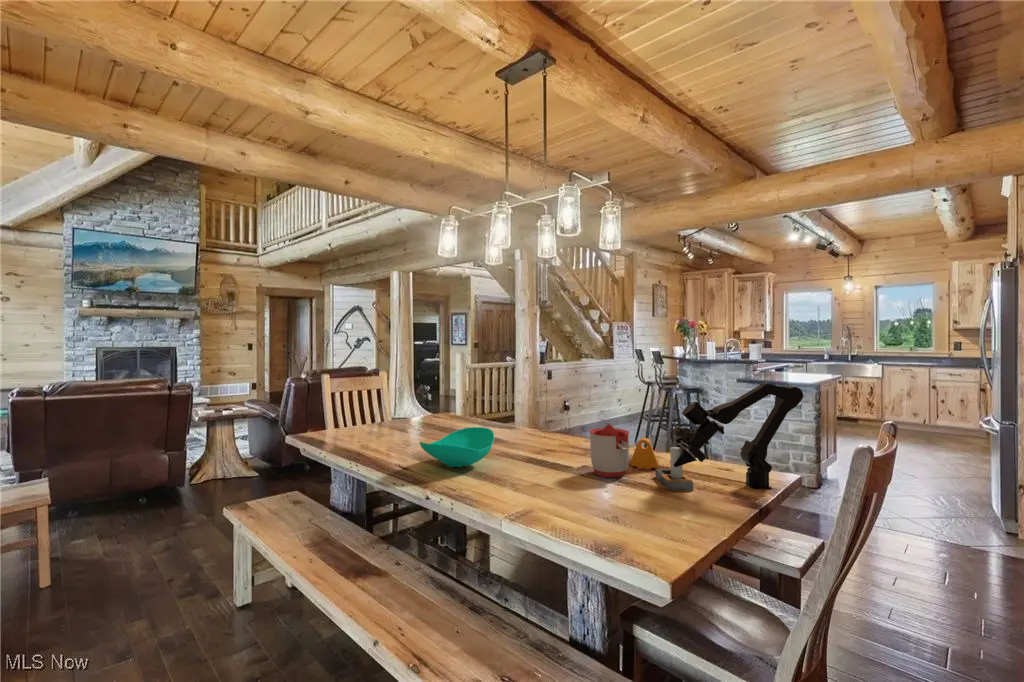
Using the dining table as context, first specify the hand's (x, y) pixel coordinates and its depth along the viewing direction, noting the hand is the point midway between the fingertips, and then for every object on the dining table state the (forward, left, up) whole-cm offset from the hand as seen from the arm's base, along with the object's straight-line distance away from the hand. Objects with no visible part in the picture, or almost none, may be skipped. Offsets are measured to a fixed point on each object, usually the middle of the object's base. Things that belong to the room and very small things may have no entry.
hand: (672, 464), depth 171 cm
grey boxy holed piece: (-1, -4, -8) cm, 9 cm away
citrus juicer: (+20, -15, -8) cm, 26 cm away
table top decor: (+83, -28, -8) cm, 88 cm away
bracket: (+4, -27, -8) cm, 28 cm away
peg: (-1, 0, -7) cm, 7 cm away
